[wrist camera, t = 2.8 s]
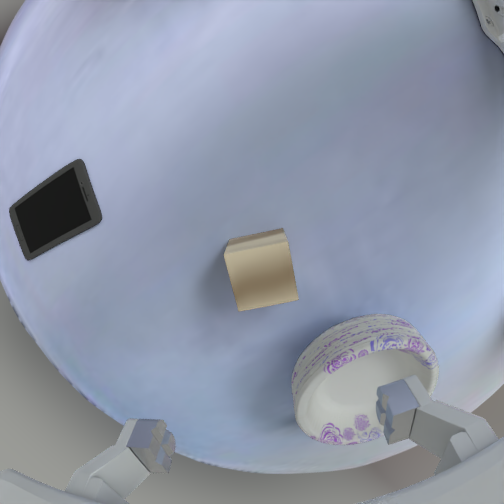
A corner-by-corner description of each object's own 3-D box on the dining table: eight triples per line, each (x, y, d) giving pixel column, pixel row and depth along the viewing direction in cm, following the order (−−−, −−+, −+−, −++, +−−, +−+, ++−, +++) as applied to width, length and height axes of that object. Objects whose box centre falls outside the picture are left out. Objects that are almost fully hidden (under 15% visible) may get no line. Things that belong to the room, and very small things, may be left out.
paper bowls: (298, 412, 34) (304, 459, 26) (277, 317, 29) (282, 365, 22) (406, 383, 32) (429, 422, 25) (412, 284, 28) (450, 317, 21)
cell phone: (10, 207, 27) (7, 208, 26) (84, 156, 25) (80, 156, 25) (29, 260, 29) (26, 262, 28) (106, 220, 27) (102, 221, 27)
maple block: (229, 239, 27) (223, 254, 22) (282, 228, 27) (287, 241, 22) (241, 287, 29) (238, 311, 24) (292, 277, 28) (298, 299, 23)
